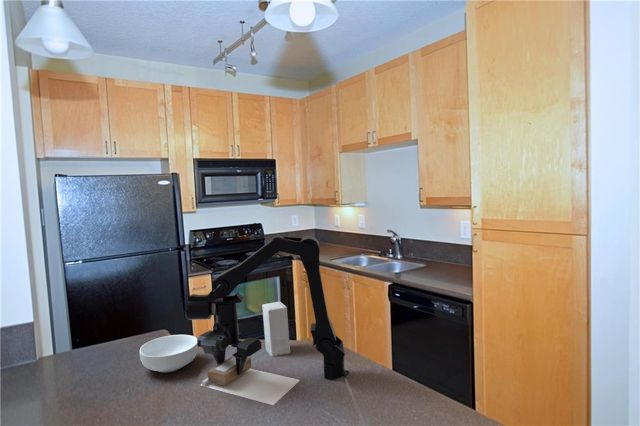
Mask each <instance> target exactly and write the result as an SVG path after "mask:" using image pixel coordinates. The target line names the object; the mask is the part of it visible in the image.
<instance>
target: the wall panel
mask: <svg viewBox="0 0 640 426" xmlns="http://www.w3.org/2000/svg"><path fill="white" fill-rule="evenodd" d="M300 381H301V380H300V379H297V378H293V377H288V376H284V375H279V374H276V373H271V372H266V371H262V370H258V369H253V368H250V369H248V370H247V371H246V372H244V373H243V374H241V375H240V376H239V377H237V378H236V379H234V380H233V381H231V382H230V383H229V384H227V385H226V386H224V385H220V384H217V383H213V382H209V381H208V377H206V378H205V379H203V380H202V381H201V384H200V386H202V387H204V388H205V387H206V388H208V389H213V390H217V391H220V392H223V393H227V394H231V395H234V396H238V397H242V398H246V399H249V400H252V401H255V402H256V401H257V402H260V403H264V404H267V405H272V406H274V405H276V403H277V402H279V400H281V399H282V398H283V397H284V396H285V395H286V394H287V393H288V392H289V391H290V390H291V389H293V387H294V386H296V385H297V384H298V383H299V382H300Z"/></svg>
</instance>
